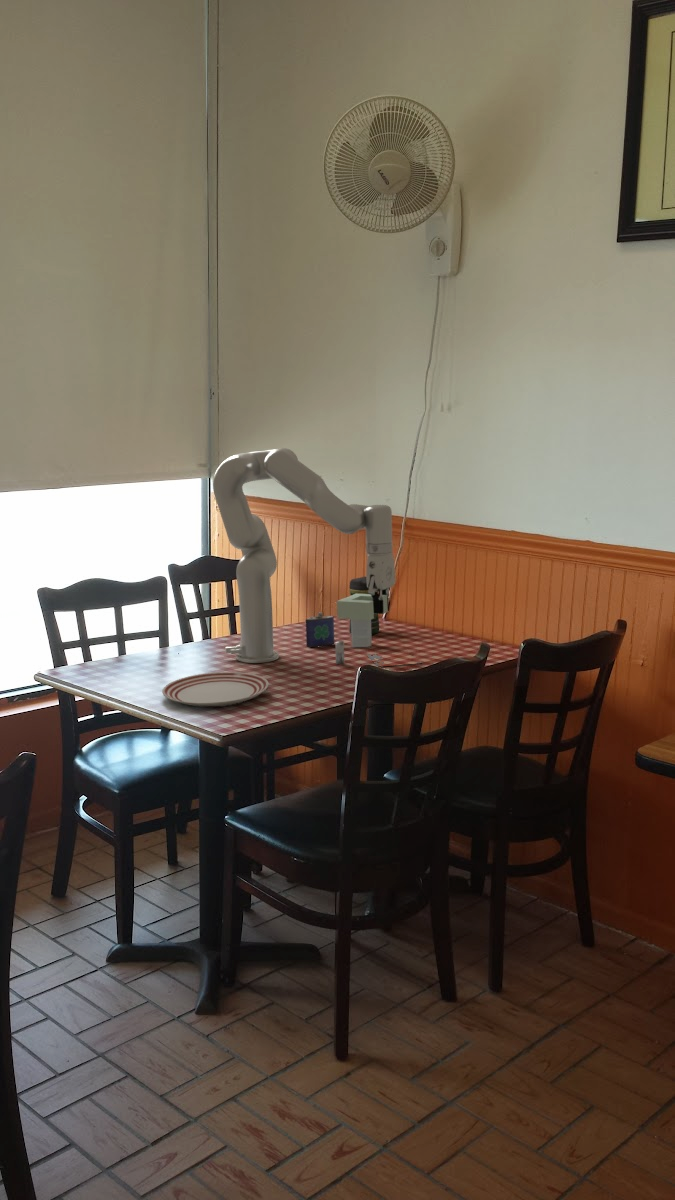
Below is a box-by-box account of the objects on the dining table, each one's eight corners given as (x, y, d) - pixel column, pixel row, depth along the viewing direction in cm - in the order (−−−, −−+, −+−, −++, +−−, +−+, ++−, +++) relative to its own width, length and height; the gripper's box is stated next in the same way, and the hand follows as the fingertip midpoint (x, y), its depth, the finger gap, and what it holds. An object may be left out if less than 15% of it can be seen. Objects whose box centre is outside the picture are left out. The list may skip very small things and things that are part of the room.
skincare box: (371, 644, 330) (371, 606, 328) (370, 647, 326) (370, 609, 324) (352, 644, 331) (351, 606, 329) (351, 647, 327) (350, 609, 325)
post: (336, 665, 306) (336, 643, 305) (335, 663, 309) (334, 641, 308) (345, 664, 307) (344, 642, 306) (343, 662, 309) (342, 640, 308)
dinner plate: (213, 720, 259) (212, 706, 258) (140, 700, 276) (140, 688, 276) (290, 694, 279) (290, 682, 278) (218, 678, 297) (218, 666, 296)
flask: (332, 643, 333) (331, 609, 331) (336, 645, 331) (335, 611, 328) (305, 646, 330) (304, 612, 327) (308, 648, 327) (307, 614, 325)
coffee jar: (364, 638, 339) (363, 580, 335) (345, 634, 344) (344, 577, 341) (384, 632, 346) (383, 576, 342) (365, 629, 351) (364, 573, 348)
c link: (337, 618, 303) (336, 601, 302) (357, 610, 313) (356, 593, 312) (369, 620, 298) (368, 602, 297) (387, 612, 308) (387, 595, 307)
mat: (378, 667, 303) (378, 666, 303) (366, 655, 316) (366, 654, 316) (422, 664, 306) (422, 662, 306) (408, 652, 319) (408, 651, 319)
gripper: (378, 553, 295) (380, 618, 299) (403, 545, 309) (404, 607, 313) (354, 552, 299) (356, 616, 302) (380, 544, 313) (381, 605, 316)
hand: (381, 611), depth 307 cm, fingers closed on c link, 3 cm apart
